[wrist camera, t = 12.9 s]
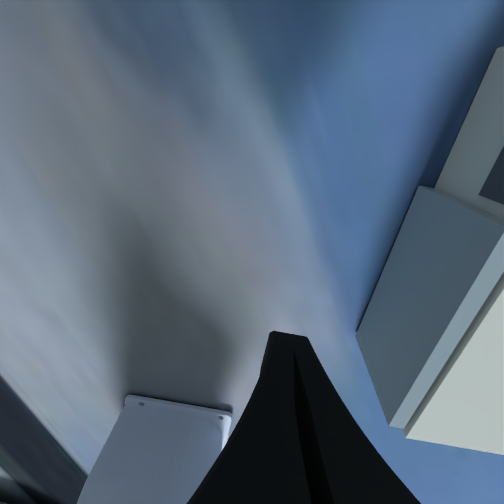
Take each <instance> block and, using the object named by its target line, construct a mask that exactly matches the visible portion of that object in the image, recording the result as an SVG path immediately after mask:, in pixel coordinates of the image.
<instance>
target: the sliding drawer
mask: <svg viewBox="0 0 504 504" xmlns="http://www.w3.org/2000/svg"><path fill="white" fill-rule="evenodd" d="M503 272H504V220H503V219H501V218H498V217H496V216H494V215H492V214H490V213H487V212H485V211H483V210H481V209H479V208H476V207H474V206H472V205H470V204H468V203H465V202H463V201H461V200H459V199H457V198H454V197H452V196H450V195H448V194H446V193H443V192H441V191H439V190H437V189H435V188H431V187H426V186H420V185H419V186H418V189H417V191H416V193H415V196H414V198H413V201H412V203H411V205H410V208H409V210H408V212H407V215H406V217H405V220H404V222H403V224H402V227H401V229H400V231H399V234H398V236H397V239H396V241H395V243H394V246H393V248H392V250H391V253H390V255H389V258H388V260H387V262H386V265H385V267H384V269H383V272H382V274H381V277H380V279H379V281H378V284H377V286H376V288H375V291H374V293H373V296H372V298H371V300H370V303H369V305H368V307H367V310H366V312H365V315H364V317H363V319H362V322H361V324H360V326H359V329H358V331H357V334H356V336H355V337H356V339H357V342H358V345H359V347H360V350H361V353H362V356H363V358H364V361H365V364H366V366H367V369H368V372H369V375H370V377H371V380H372V383H373V385H374V388H375V391H376V394H377V396H378V399H379V402H380V404H381V407H382V410H383V412H384V415H385V418H386V421H387V423H388V426H392V427H397V428H403V429H404V428H405V426H406V424H407V423H408V421H409V420H410V418H411V417H412V415H413V413H414V412H415V410H416V409H417V407H418V406H419V404H420V402H421V401H422V399H423V398H424V396H425V395H426V393H427V391H428V390H429V388H430V387H431V385H432V384H433V382H434V380H435V379H436V377H437V376H438V374H439V373H440V371H441V369H442V368H443V366H444V365H445V363H446V362H447V360H448V359H449V357H450V355H451V354H452V352H453V351H454V349H455V348H456V346H457V344H458V343H459V341H460V340H461V338H462V337H463V335H464V333H465V332H466V330H467V329H468V327H469V326H470V324H471V322H472V321H473V319H474V318H475V316H476V315H477V313H478V311H479V310H480V308H481V307H482V305H483V304H484V302H485V300H486V299H487V297H488V296H489V294H490V293H491V291H492V289H493V288H494V286H495V285H496V283H497V282H498V280H499V279H500V277H501V275H502V274H503Z"/></svg>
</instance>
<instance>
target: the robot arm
mask: <svg viewBox="0 0 504 504" xmlns="http://www.w3.org/2000/svg"><path fill="white" fill-rule="evenodd" d="M231 421H232V414H231V413H230V412H228V411H223V410H217V409H211V408H205V407H200V406H194V405H188V404H182V403H177V402H171V401H165V400H159V399H153V398H148V397H142V396H136V395H127V396H126V398H125V406H124V408H123V410H122V412H121V414H120V416H119V418H118V420H117V422H116V423H115V425H114V427H113V429H112V431H111V433H110V435H109V437H108V439H107V441H106V443H105V445H104V447H103V449H102V451H101V453H100V455H99V457H98V458H97V460H96V462H95V464H94V466H93V468H92V470H91V472H90V474H89V476H88V478H87V480H86V482H85V485H84V487H83V489H82V492H81V494H80V497H79V499H78V502H77V504H421V503H420V502H419V501H418V500H417V499H416V498H415V496H414V495H413V494H412V493H411V492H410V491H409V489H408V488H407V487H406V486H405V485H404V483H403V482H402V481H401V480H400V479H399V478H398V476H397V475H396V474H395V473H394V472H393V471H392V469H391V468H390V467H389V466H388V464H387V463H386V462H385V461H384V459H383V458H382V457H381V456H380V454H379V453H378V452H377V450H376V449H375V448H374V446H373V445H372V444H371V442H370V441H369V440H368V438H367V437H366V436H365V434H364V433H363V431H362V430H361V428H360V427H359V426H358V424H357V423H356V421H355V420H354V418H353V417H352V415H351V414H350V412H349V411H348V409H347V407H346V406H345V404H344V403H343V401H342V400H341V398H340V396H339V395H338V393H337V391H336V390H335V388H334V386H333V384H332V383H331V381H330V379H329V378H328V376H327V374H326V372H325V370H324V369H323V367H322V365H321V363H320V361H319V359H318V357H317V355H316V353H315V351H314V349H313V347H312V345H311V343H310V341H309V339H308V338H307V337H305V336H300V335H294V334H289V333H283V332H277V331H272V332H270V334H269V338H268V342H267V345H266V349H265V353H264V357H263V361H262V365H261V370H260V377H259V379H258V382H257V384H256V386H255V389H254V391H253V393H252V395H251V398H250V400H249V402H248V404H247V406H246V408H245V410H244V412H243V414H242V416H241V418H240V420H239V421H238V423H237V425H236V427H235V429H234V430H233V432H232V434H231V436H230V437H229V439H228V436H229V431H230V426H231ZM227 440H228V441H227Z"/></svg>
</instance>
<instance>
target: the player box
mask: <svg viewBox="0 0 504 504" xmlns="http://www.w3.org/2000/svg"><path fill="white" fill-rule="evenodd" d="M434 188H435V189H437V190H439V191H441V192H443V193H446V194H448V195H450V196H452V197H454V198H457V199H459V200H461V201H463V202H465V203H468V204H470V205H472V206H474V207H476V208H479V209H481V210H483V211H485V212H487V213H490V214H492V215H494V216H496V217H498V218H501V219H503V220H504V46H503V47H499V48H497V49H496V51H495V53H494V55H493V58H492V60H491V62H490V64H489V67H488V69H487V71H486V73H485V76H484V78H483V80H482V82H481V84H480V87H479V89H478V91H477V93H476V96H475V98H474V100H473V102H472V105H471V107H470V109H469V111H468V114H467V116H466V118H465V120H464V123H463V125H462V127H461V129H460V131H459V134H458V136H457V138H456V140H455V143H454V145H453V147H452V149H451V152H450V154H449V156H448V158H447V161H446V163H445V165H444V167H443V170H442V172H441V174H440V176H439V179H438V181H437V183H436V185H435V187H434ZM402 430H403V432H404V435H405V437H406V438H409V439H415V440H421V441H427V442H432V443H438V444H444V445H450V446H455V447H461V448H467V449H473V450H478V451H484V452H490V453H496V454H502V455H504V272H503V274H502V275H501V277H500V279H499V280H498V282H497V283H496V285H495V286H494V288H493V289H492V291H491V293H490V294H489V296H488V297H487V299H486V300H485V302H484V304H483V305H482V307H481V308H480V310H479V311H478V313H477V315H476V316H475V318H474V319H473V321H472V322H471V324H470V326H469V327H468V329H467V330H466V332H465V333H464V335H463V337H462V338H461V340H460V341H459V343H458V344H457V346H456V348H455V349H454V351H453V352H452V354H451V355H450V357H449V359H448V360H447V362H446V363H445V365H444V366H443V368H442V369H441V371H440V373H439V374H438V376H437V377H436V379H435V380H434V382H433V384H432V385H431V387H430V388H429V390H428V391H427V393H426V395H425V396H424V398H423V399H422V401H421V402H420V404H419V406H418V407H417V409H416V410H415V412H414V413H413V415H412V417H411V418H410V420H409V421H408V423H407V424H406V426H405V428H404V429H403V428H402Z"/></svg>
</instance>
